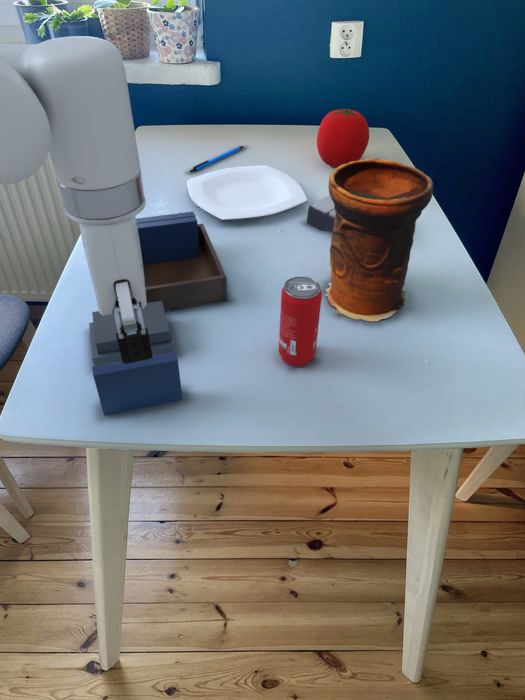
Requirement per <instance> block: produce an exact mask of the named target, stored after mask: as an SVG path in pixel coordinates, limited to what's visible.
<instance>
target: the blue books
mask: <svg viewBox="0 0 525 700" xmlns="http://www.w3.org/2000/svg"><path fill="white" fill-rule="evenodd" d="M136 223H137V228H138V235H139V241H140V247H141V254H142V262H143V265H146V264H152V263H159V262H166V261H173V260H180V259H187V258H194V257H200V251H199V237H198V224H199V223H198V219H197V217H196V214H195V212H194V211H186V212H185V211H184V212H178V213H170V214H162V215H155V216H154V215H153V216H146V217H138V218H137V217H136Z"/></svg>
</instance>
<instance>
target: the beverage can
mask: <svg viewBox="0 0 525 700" xmlns="http://www.w3.org/2000/svg"><path fill="white" fill-rule="evenodd" d="M321 288H322V287H321V285H320V283H319V282H318V281H317V280H316V279H314V278H311V277H308V276H293V277H290V278H288V279H287V280H286V281H285V282H284V284H283V287H282V288H281V292H280V293H281V294H280V314H279V315H280V316H279V333H278V334H279V335H278V336H279V337H278V354H279V355H280V357H281V360H282V362H283V363H284V364H286V365H288V366H290V367H293V368H301V367H302V368H303V367H306V366H307V365H310V363H311V362H312V360H313V358H315V355H316V352H317V343H318V333H319V324H320V315H321V307H322V298H323V291H322V289H321Z"/></svg>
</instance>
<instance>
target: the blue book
mask: <svg viewBox="0 0 525 700" xmlns="http://www.w3.org/2000/svg"><path fill="white" fill-rule="evenodd" d="M91 369H92V377H93V380H94V384H95V388H96V391H97V395H98V398H99V403H100V405H101V409H102V413H103V416H107V415H112V414H117V413H122V412H127V411H132V410H137V409H142V408H147V407H152V406H158V405H161V404H167V403H171V402H176V401H181V400H184V397H183V389H182V381H181V375H180V373H181V372H180V367H179V359H178V355H177V352H176V351H175V352H172V353H166V354H161V355H155V356H153V357H152V358H151V359H148V360H143V361H138V362H133V363H127V364H125V363H123V362H117V363H112V364H106V365H101V366H92V367H91Z"/></svg>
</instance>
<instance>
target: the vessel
mask: <svg viewBox="0 0 525 700" xmlns="http://www.w3.org/2000/svg"><path fill="white" fill-rule="evenodd" d="M433 191H434V182H433V180H432V178H431V177H430V176H428V175H427V174H425V173H424V172H423V171H422V170H420V169H418V168H416V167H413V166H410V165H407V164H403V163H401V162H398V161H395V160H390V159H381V158H377V157H376V158H365V159H360V160H359V161H352V162H349V163H347V164H343V165H341V166H339V167H337V168H334V169H333V170H332V171H331V173H330V175H329V178H328V195H330V196H331V199H332V201H333V202H334V209H335V213H336V215H335V220H334V228H333V232H331V239H330V245H329V265H330V282H329V283H327V285H328V286H329V287H327V288H325V292H326V293H325V294H324V296H325V297H327V298H328V299H327V302H328V304H329V305H330V306H331V307H334V308H335V309H336V310H334V312H335V314H339V315H345V316H346V317H348V318H350V319H353V320H363V321H365V322H379V321H381V320H383V319H388V318H390V317H392V316H393V315H394V314H396V313H398V310H399V309H401V308H400V307H405V302H406V300H407V298H406V293H407V292H406V291H405V290H404V286H405V282H406V278H407V273H408V270H409V269H408V268H409V262H410V258H411V250H412V247H413V244H414V236H415V231H416V222H417V220H418V219H419V218H420V217H421V215H422V213H423V211H424V210H425V209H426V208H427V206H428V205H429V204H430V202H431V201H432V198H433Z"/></svg>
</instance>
